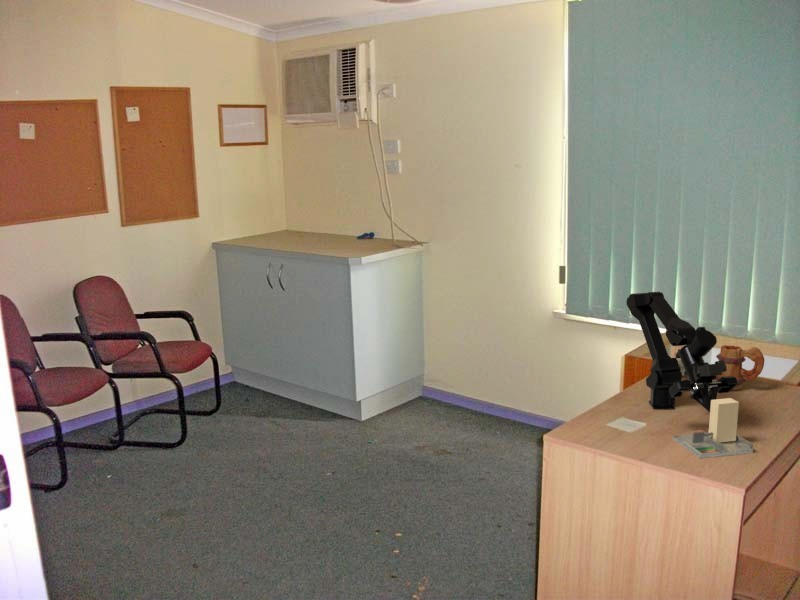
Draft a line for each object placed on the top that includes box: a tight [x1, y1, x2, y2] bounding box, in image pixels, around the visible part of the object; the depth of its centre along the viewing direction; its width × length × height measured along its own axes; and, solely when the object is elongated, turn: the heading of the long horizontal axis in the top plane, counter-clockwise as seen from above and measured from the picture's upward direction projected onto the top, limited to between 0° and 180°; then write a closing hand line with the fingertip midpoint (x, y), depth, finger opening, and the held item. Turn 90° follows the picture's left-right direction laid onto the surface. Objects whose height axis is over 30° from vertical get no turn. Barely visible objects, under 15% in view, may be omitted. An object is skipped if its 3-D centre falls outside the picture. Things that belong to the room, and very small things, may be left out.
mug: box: [714, 344, 765, 391], centre depth 245 cm, size 15×8×15 cm, turn 55°
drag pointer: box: [692, 430, 705, 443], centre depth 200 cm, size 1×3×3 cm, turn 101°
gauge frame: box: [672, 429, 754, 459], centre depth 202 cm, size 13×16×2 cm
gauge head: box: [704, 397, 740, 442], centre depth 202 cm, size 4×11×11 cm, turn 101°
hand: (714, 414), depth 206 cm, fingers closed
